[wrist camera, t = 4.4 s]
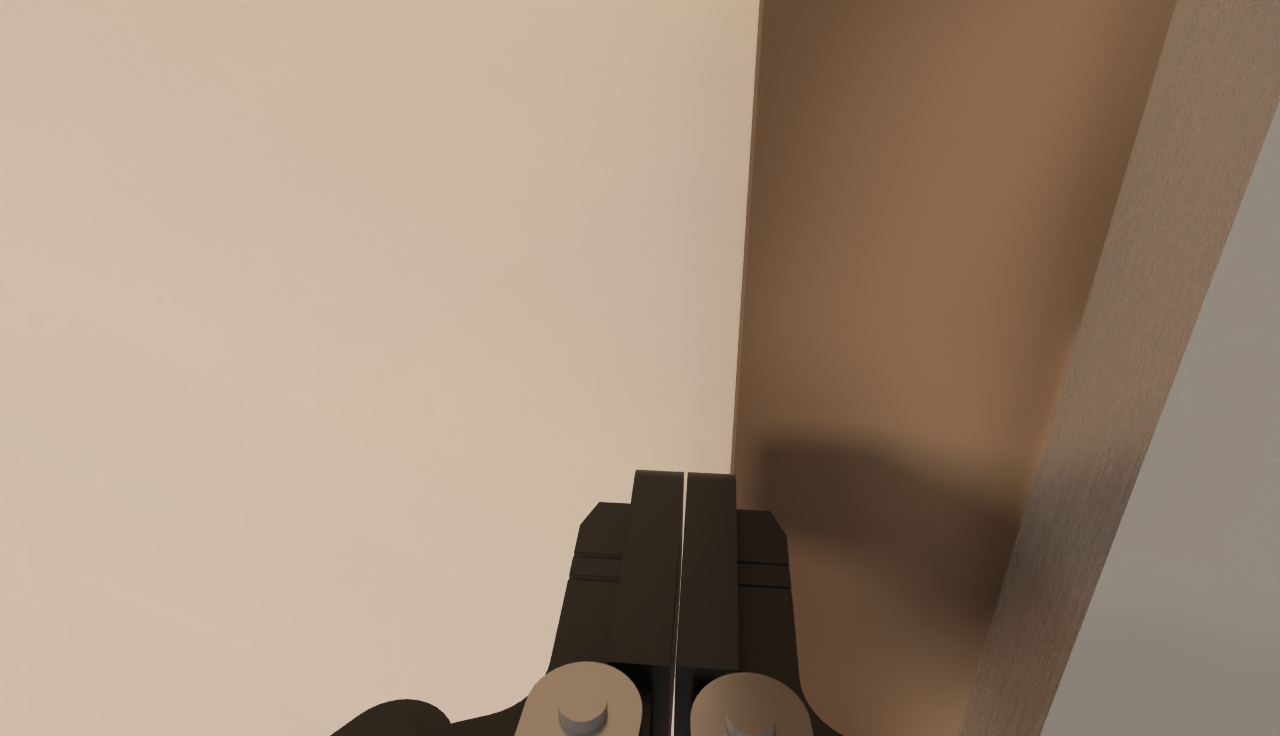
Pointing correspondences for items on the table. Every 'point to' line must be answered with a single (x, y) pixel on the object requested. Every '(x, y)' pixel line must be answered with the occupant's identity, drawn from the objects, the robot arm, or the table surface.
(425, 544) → the table surface
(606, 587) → the robot arm
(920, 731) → the label panel
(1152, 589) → the swing arm
